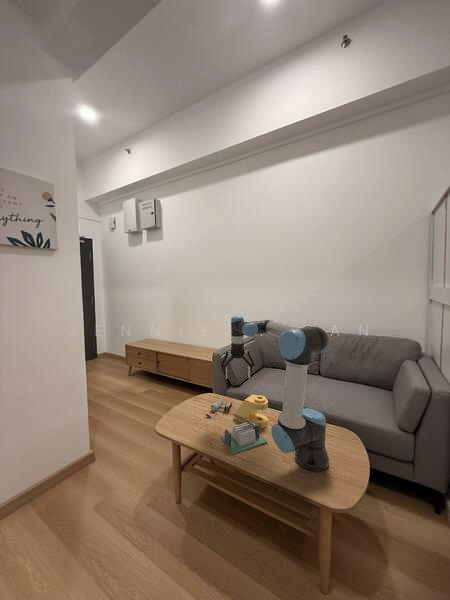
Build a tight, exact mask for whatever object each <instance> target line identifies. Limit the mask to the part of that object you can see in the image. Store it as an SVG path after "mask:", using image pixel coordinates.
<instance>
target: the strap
mask: <svg viewBox="0 0 450 600" xmlns="http://www.w3.org/2000/svg"><path fill="white" fill-rule="evenodd" d="M232 415H233V417H234V416H235V417H237V418H239V419H241V420H243V421H245V422H247V423H249V424H251V425H253V426H254V427H256V425H255V424H254V423H253V422H252V421H249V420H247V419H245V418H243V417H241V416H239V415H237V414H235V412H233V414H232Z"/></svg>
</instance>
